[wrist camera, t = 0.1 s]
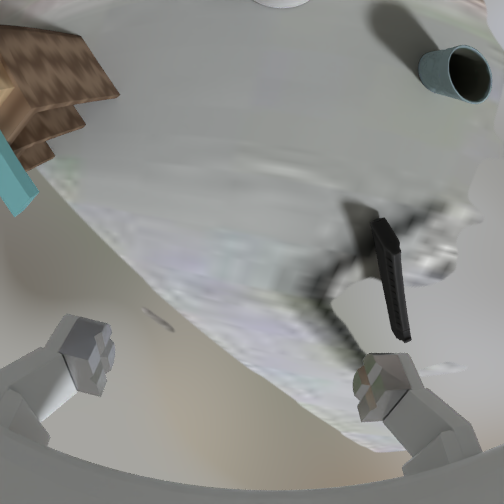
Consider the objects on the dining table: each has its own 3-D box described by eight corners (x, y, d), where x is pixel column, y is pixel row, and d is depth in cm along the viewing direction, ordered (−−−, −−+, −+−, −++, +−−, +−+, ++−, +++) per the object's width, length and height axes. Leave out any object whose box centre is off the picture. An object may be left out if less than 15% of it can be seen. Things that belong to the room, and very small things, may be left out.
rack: (120, 94, 47) (-5, 117, 19) (52, 158, 52) (-61, 226, 24) (80, 36, 40) (-46, 23, 12) (18, 103, 45) (-100, 141, 17)
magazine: (381, 228, 50) (411, 364, 55) (397, 222, 49) (425, 359, 55) (359, 216, 67) (390, 328, 72) (372, 211, 66) (401, 324, 71)
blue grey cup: (462, 84, 44) (499, 89, 33) (430, 106, 47) (466, 114, 37) (438, 40, 40) (474, 36, 30) (403, 61, 43) (437, 58, 33)
